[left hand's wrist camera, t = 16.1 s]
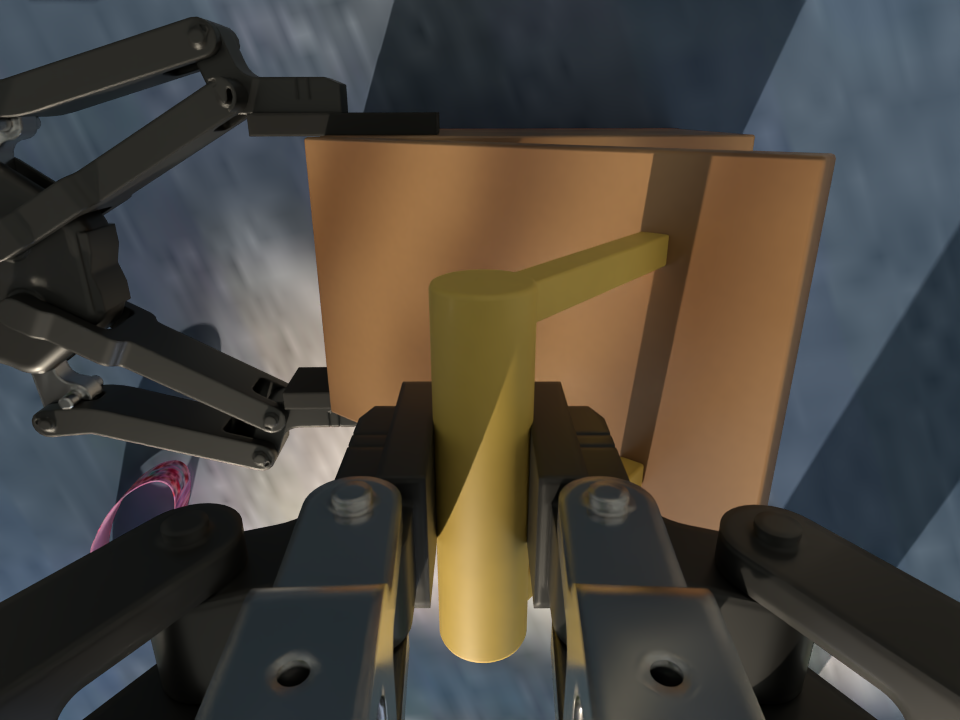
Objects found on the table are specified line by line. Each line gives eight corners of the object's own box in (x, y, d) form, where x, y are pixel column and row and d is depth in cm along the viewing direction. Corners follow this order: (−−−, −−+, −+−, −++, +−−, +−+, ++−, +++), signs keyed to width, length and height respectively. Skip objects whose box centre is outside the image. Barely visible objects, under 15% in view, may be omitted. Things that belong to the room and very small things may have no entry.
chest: (673, 128, 30) (756, 134, 21) (652, 325, 33) (716, 397, 25) (358, 129, 29) (318, 136, 21) (372, 328, 33) (342, 402, 25)
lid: (837, 153, 12) (675, 192, 6) (755, 567, 16) (605, 830, 10) (326, 136, 21) (67, 146, 15) (349, 403, 25) (147, 492, 19)
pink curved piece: (130, 444, 35) (111, 465, 33) (201, 466, 36) (186, 488, 34) (92, 588, 39) (72, 615, 36) (157, 606, 39) (141, 633, 37)
